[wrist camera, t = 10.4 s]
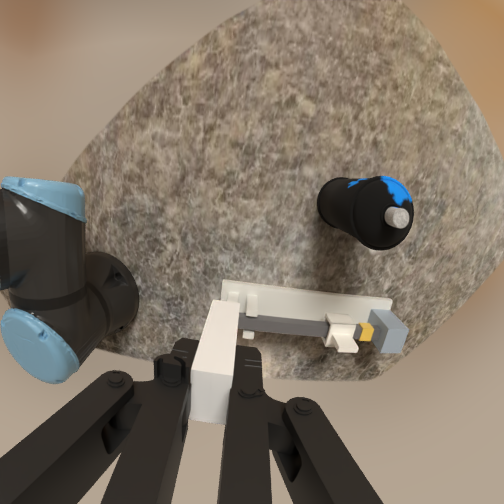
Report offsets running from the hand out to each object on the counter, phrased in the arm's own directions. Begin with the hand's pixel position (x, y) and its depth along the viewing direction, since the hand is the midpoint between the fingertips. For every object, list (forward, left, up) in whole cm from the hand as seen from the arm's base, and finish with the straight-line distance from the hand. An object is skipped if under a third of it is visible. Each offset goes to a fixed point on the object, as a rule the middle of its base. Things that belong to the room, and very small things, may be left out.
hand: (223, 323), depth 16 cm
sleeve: (+17, -12, -26) cm, 33 cm away
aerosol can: (+15, +7, -31) cm, 35 cm away
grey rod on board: (+13, -12, -30) cm, 35 cm away
